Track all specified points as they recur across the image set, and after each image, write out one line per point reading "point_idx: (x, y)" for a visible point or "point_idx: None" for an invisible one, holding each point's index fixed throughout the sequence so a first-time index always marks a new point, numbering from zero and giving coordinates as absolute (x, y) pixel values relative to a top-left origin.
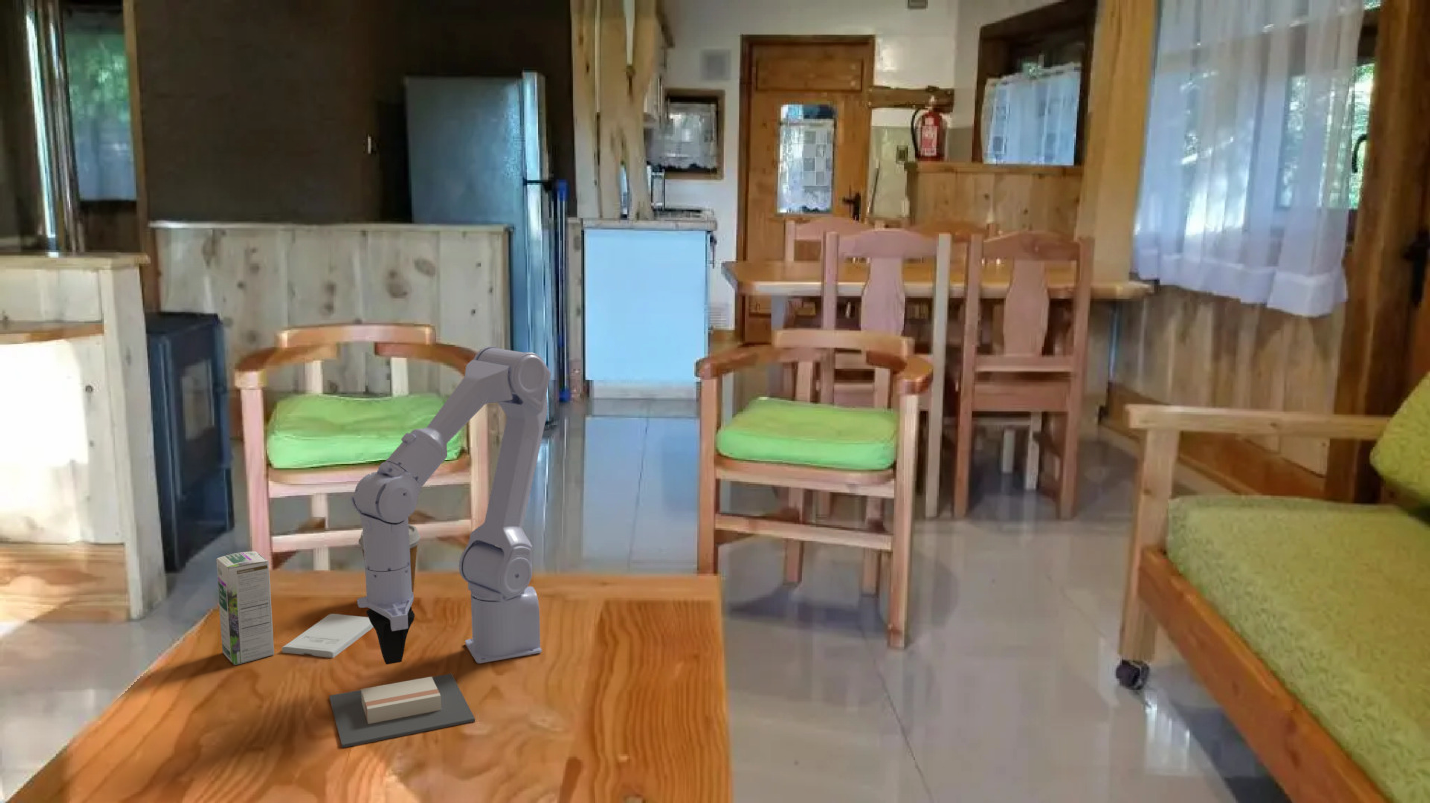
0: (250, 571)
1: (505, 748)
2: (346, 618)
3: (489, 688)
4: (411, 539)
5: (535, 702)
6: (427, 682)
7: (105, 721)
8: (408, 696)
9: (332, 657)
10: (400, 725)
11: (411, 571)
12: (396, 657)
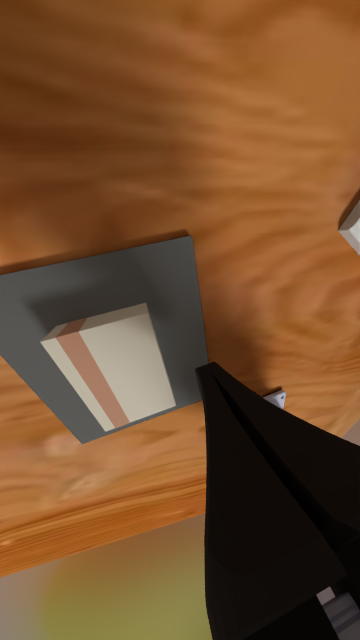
0: None
1: (7, 479)
2: None
3: (170, 429)
4: None
5: (129, 467)
6: (156, 405)
7: None
8: (104, 395)
9: (339, 229)
10: (53, 373)
11: None
12: (201, 393)
